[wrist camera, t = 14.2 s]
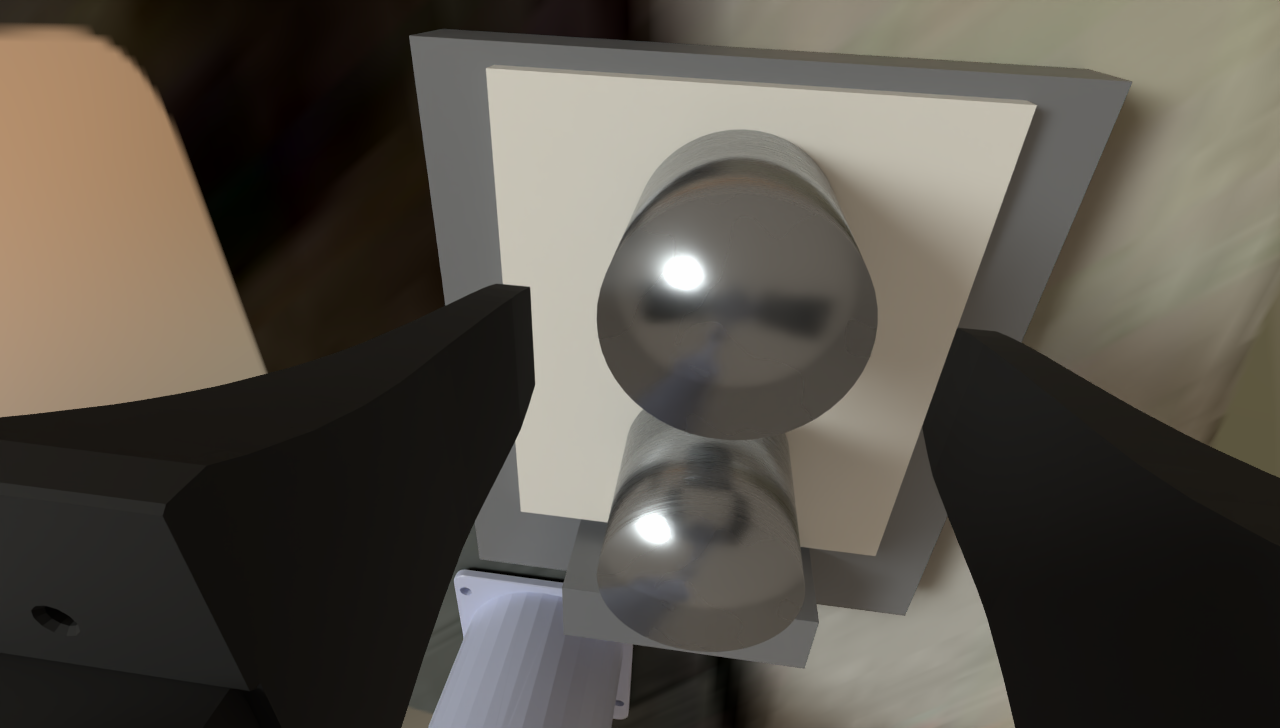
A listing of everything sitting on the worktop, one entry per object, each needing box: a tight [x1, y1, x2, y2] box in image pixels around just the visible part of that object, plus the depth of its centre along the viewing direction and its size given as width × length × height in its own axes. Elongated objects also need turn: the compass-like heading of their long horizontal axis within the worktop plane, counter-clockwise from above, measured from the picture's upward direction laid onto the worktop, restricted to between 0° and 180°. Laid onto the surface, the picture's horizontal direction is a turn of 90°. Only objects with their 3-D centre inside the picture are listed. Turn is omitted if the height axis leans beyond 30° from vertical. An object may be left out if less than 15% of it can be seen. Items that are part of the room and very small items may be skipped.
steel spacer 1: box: [596, 129, 878, 440], centre depth 14 cm, size 5×5×5 cm
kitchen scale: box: [409, 29, 1132, 668], centre depth 18 cm, size 18×16×6 cm
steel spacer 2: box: [597, 409, 805, 652], centre depth 17 cm, size 5×5×5 cm
